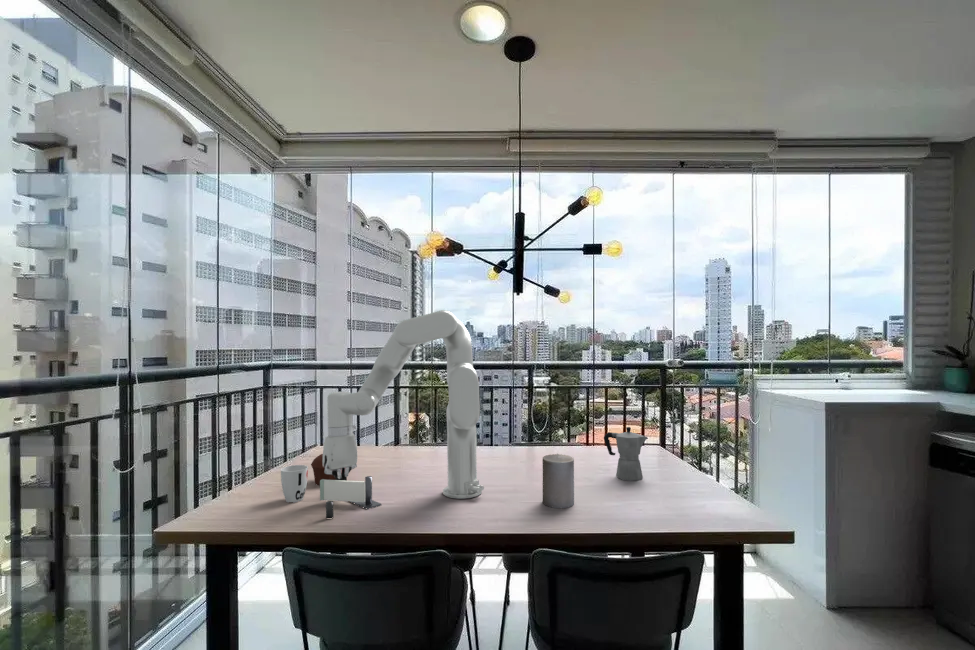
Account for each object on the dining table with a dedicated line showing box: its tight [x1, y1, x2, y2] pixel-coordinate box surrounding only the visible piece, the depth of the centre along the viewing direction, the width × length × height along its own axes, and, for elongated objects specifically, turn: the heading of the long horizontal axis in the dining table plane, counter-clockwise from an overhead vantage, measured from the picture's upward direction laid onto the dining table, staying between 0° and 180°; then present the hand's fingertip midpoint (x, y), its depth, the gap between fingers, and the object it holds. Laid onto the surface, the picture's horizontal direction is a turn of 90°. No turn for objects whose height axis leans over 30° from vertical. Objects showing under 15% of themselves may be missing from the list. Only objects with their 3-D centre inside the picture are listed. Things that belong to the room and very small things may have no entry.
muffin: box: [310, 453, 336, 486], centre depth 174 cm, size 12×11×10 cm
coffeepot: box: [603, 426, 649, 482], centre depth 177 cm, size 15×9×18 cm, turn 67°
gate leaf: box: [319, 479, 365, 502], centre depth 151 cm, size 14×1×6 cm, turn 80°
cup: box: [280, 464, 309, 503], centre depth 155 cm, size 8×8×10 cm
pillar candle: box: [542, 453, 575, 509], centre depth 150 cm, size 10×10×15 cm
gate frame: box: [325, 475, 382, 519], centre depth 150 cm, size 22×17×8 cm
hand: (341, 489), depth 154 cm, fingers closed
